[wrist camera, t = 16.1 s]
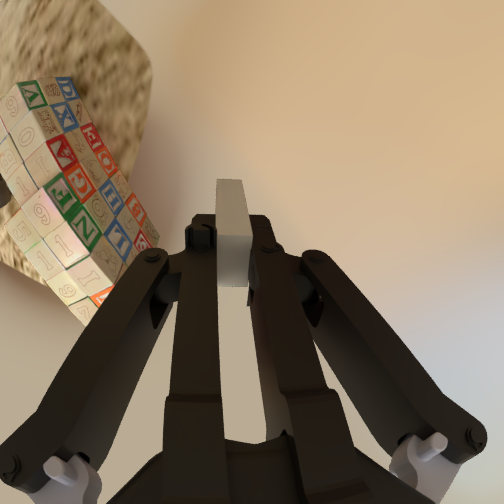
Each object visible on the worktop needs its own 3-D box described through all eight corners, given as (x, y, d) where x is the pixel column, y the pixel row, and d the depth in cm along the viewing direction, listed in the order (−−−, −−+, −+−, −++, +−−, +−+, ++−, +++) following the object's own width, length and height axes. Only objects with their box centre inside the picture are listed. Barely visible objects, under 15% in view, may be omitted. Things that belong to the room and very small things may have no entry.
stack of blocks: (31, 109, 21) (-45, 137, 11) (70, 75, 20) (-7, 83, 10) (120, 256, 33) (87, 332, 22) (162, 236, 32) (138, 314, 21)
